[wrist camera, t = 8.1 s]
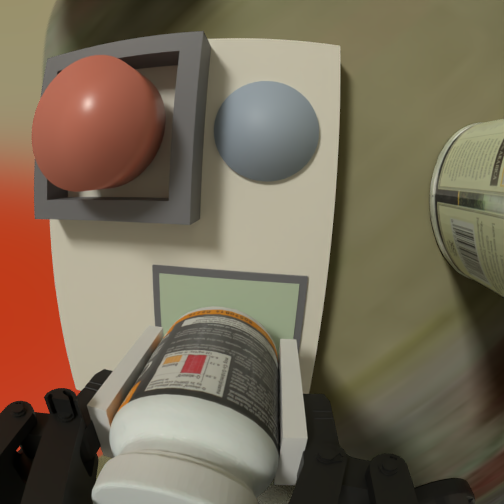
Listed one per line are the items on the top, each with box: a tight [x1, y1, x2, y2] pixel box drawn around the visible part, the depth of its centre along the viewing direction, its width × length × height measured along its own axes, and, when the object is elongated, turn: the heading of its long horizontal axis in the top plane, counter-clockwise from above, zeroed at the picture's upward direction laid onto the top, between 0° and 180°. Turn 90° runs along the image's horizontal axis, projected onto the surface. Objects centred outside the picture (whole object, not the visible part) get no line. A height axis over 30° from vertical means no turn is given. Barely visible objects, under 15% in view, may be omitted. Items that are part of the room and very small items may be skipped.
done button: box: [32, 55, 166, 192], centre depth 12 cm, size 6×6×2 cm
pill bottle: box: [92, 306, 279, 504], centre depth 11 cm, size 6×6×10 cm
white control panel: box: [34, 31, 340, 394], centre depth 16 cm, size 22×16×4 cm
